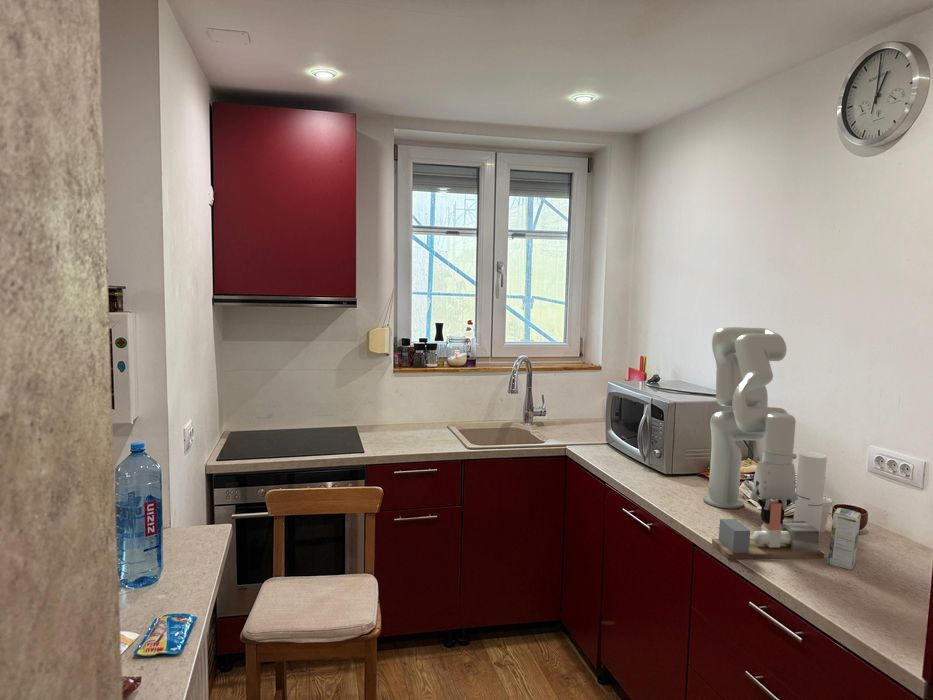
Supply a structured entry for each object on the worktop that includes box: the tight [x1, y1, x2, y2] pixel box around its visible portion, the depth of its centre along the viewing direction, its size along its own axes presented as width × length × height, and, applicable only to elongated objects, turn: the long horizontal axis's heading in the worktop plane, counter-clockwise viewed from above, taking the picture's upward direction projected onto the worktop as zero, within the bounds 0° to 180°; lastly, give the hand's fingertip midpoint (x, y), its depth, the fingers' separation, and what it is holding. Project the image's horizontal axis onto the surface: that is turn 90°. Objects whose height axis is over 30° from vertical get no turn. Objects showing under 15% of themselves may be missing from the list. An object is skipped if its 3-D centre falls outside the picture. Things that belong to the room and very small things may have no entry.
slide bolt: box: [752, 499, 792, 547], centre depth 175 cm, size 5×16×12 cm, turn 93°
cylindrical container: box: [792, 450, 828, 538], centre depth 185 cm, size 7×7×25 cm
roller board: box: [711, 520, 825, 561], centre depth 175 cm, size 10×27×7 cm, turn 93°
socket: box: [718, 518, 751, 553], centre depth 175 cm, size 8×4×6 cm, turn 3°
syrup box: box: [827, 507, 862, 571], centre depth 168 cm, size 6×6×14 cm
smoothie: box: [820, 496, 833, 533], centre depth 191 cm, size 6×6×14 cm
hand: (771, 521), depth 175 cm, fingers closed on slide bolt, 3 cm apart
